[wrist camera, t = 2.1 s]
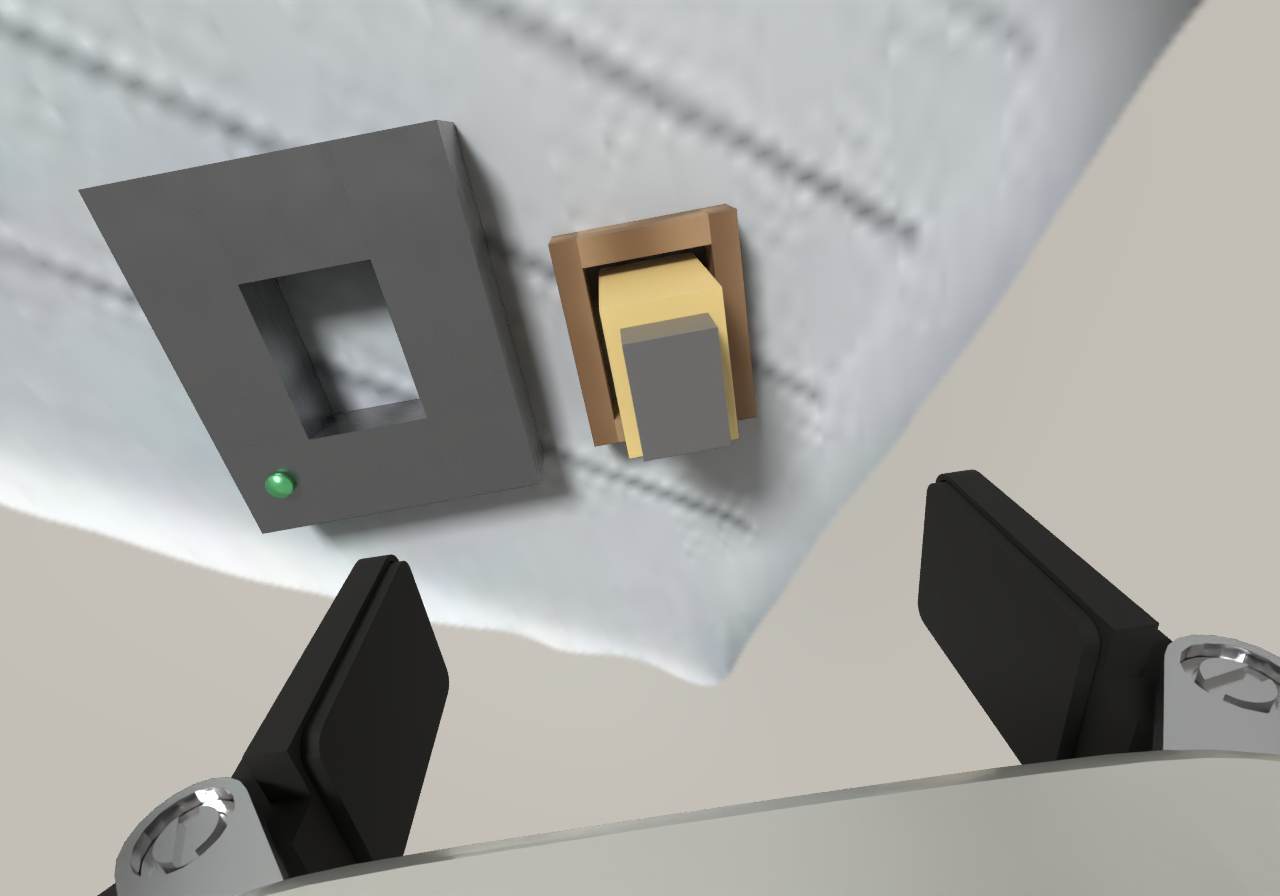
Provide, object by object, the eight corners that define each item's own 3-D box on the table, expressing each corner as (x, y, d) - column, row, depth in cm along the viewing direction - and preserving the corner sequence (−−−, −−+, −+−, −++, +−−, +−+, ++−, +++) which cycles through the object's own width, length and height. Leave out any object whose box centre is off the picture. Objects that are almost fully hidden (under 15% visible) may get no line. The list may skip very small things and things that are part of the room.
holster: (725, 203, 28) (736, 209, 26) (745, 398, 32) (756, 417, 30) (552, 236, 28) (548, 244, 26) (594, 425, 32) (594, 446, 30)
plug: (691, 251, 29) (733, 299, 20) (707, 371, 32) (750, 461, 23) (599, 269, 29) (599, 324, 20) (622, 387, 32) (631, 483, 23)
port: (453, 122, 26) (434, 119, 23) (544, 456, 33) (538, 487, 30) (131, 185, 26) (70, 190, 23) (289, 502, 33) (258, 538, 30)
